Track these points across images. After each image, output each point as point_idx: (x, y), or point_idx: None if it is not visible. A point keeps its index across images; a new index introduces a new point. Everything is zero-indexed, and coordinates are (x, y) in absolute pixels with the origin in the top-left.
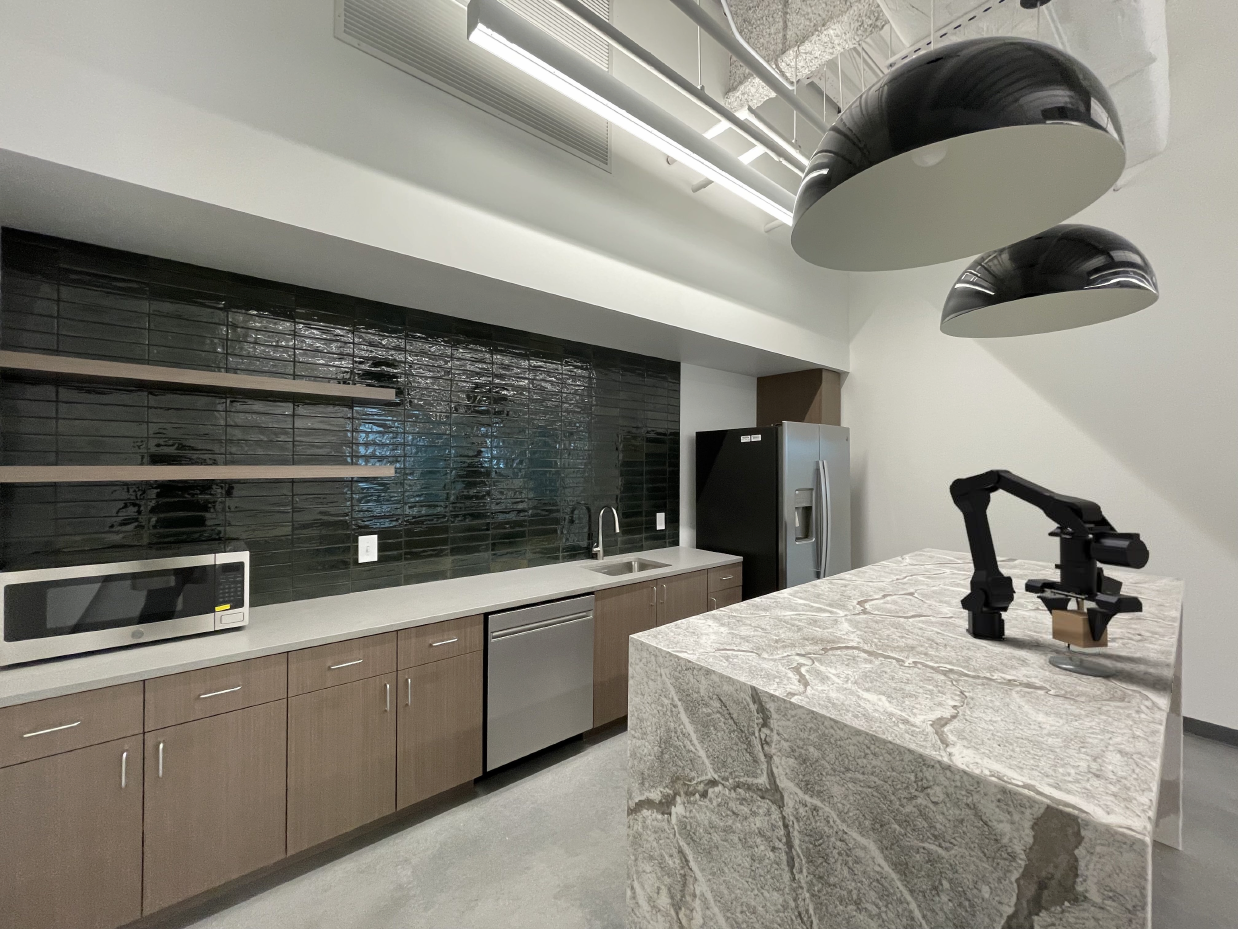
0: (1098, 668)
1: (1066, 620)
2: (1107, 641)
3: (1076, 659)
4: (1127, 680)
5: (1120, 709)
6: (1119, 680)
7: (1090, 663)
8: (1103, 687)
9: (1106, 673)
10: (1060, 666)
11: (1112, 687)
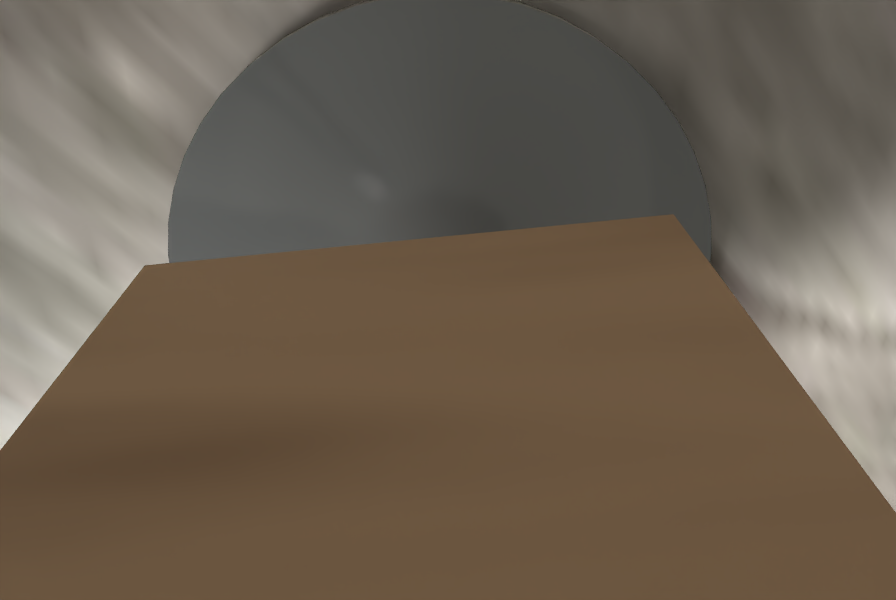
0: (571, 212)
1: None
2: (706, 263)
3: (280, 183)
4: (817, 136)
5: None
6: (792, 219)
7: (415, 146)
8: None
9: None
10: None
11: (876, 421)
